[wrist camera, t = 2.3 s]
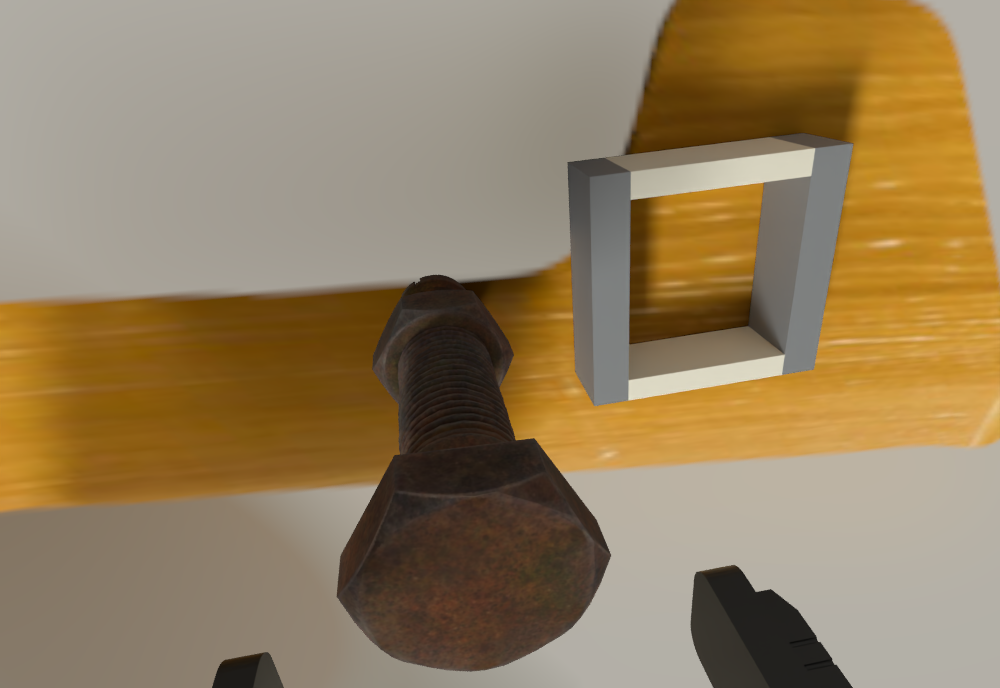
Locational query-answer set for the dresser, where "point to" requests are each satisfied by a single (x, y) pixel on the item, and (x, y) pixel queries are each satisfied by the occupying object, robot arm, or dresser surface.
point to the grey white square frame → (777, 277)
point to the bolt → (464, 504)
